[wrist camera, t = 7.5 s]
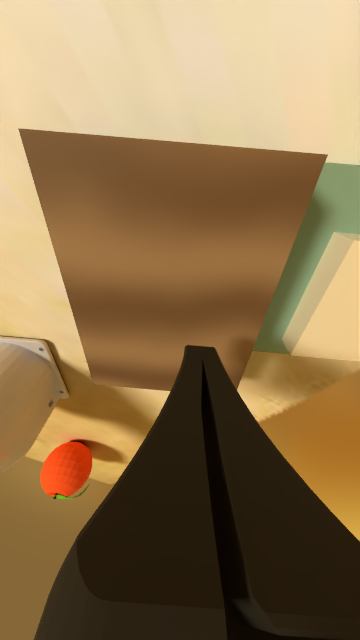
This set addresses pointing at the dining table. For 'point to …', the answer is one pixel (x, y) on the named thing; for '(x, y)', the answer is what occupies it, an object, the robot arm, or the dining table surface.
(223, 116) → the dining table surface
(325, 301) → the tile
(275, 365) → the dining table surface
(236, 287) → the brown wooden block
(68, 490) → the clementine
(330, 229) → the mat
